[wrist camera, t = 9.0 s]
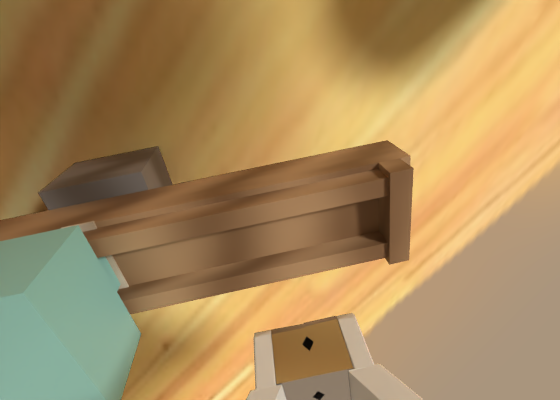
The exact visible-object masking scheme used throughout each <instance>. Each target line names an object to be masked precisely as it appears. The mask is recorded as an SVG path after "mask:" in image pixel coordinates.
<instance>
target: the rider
mask: <svg viewBox="0 0 560 400" xmlns="http://www.w3.org/2000/svg"><path fill="white" fill-rule="evenodd" d="M119 287H120V282H119V280H118V278H117V276H116V275H115V273H114V271H113V269H112V267H111V266H110V264H109V262H108V260H107V259H106V257H100V258H97V256H96V255H95V253H94V251H93V249H92V248H91V246H90V244H89V243H88V241H87V239H86V237H85V236H84V234H83V232H82V230H81V229H80V227H79V225H76V226H71V227H66V228H62V229H57V230H52V231H47V232H42V233H38V234H33V235H28V236H23V237H18V238H14V239H9V240H4V241H0V400H121V398H122V395H123V391H124V388H125V385H126V382H127V378H128V375H129V372H130V369H131V365H132V362H133V359H134V356H135V352H136V349H137V346H138V343H139V339H140V336H141V333H140V331H139V329H138V327H137V326H136V324H135V322H134V321H133V319H132V317H131V315H130V314H129V312H128V310H127V308H126V307H125V305H124V303H123V301H122V300H121V298H120V296H119V295H118V293H117V291H118V289H119Z"/></svg>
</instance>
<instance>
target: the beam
mask: <svg viewBox="0 0 560 400" xmlns="http://www.w3.org/2000/svg"><path fill="white" fill-rule="evenodd" d="M412 186H413V168H412V167H411V166H410V155H408V154H407V153H405V152H404V151H402V150H401V149H399V148H398V147H396V146H395V145H393V144H392V143H391V142H389V141H388V140H387V141H382V142H377V143H372V144H367V145H363V146H358V147H353V148H348V149H343V150H338V151H334V152H329V153H324V154H319V155H314V156H309V157H304V158H300V159H295V160H290V161H285V162H280V163H275V164H271V165H266V166H261V167H256V168H251V169H246V170H242V171H237V172H232V173H227V174H222V175H217V176H212V177H208V178H203V179H198V180H193V181H188V182H183V183H179V184H174V185H172V182H171V179H170V177H169V174H168V171H167V168H166V166H165V163H164V160H163V158H162V155H161V152H160V150H159V147H158V146H157V147H152V148H147V149H142V150H137V151H132V152H127V153H122V154H117V155H112V156H107V157H102V158H97V159H92V160H87V161H82V162H77V163H74V164H73V165H72V166H71V167H69V168H68V169H67V170H66V171H64V172H63V173H62V174H61V175H59V176H58V177H57V178H56V179H54V180H53V181H52V182H51V183H49V184H48V185H47V186H46V187H45V188H43V189H42V190H41V191H40V192H38V194H39V195H40V197H41V198H42V200H43V202H44V203H45V205H46V207H47V208H48V211H43V212H38V213H33V214H28V215H24V216H19V217H14V218H9V219H4V220H0V241H4V240H9V239H14V238H18V237H23V236H28V235H33V234H38V233H42V232H47V231H52V230H57V229H62V228H66V227H71V226H76V225H79V227H80V229H81V230H82V232H83V234H84V236H85V237H86V239H87V241H88V243H89V244H90V246H91V248H92V249H93V251H94V253H95V255H96V256H97V258H100V257H106V259H107V260H108V262H109V264H110V266H111V267H112V269H113V271H114V273H115V275H116V276H117V278H118V280H119V282H120V287H119V289H118V291H117V293H118V295H119V296H120V298H121V300H122V301H123V303H124V305H125V307H126V308H127V310H128V312H129V314H134V313H138V312H143V311H147V310H152V309H156V308H161V307H165V306H170V305H174V304H179V303H184V302H188V301H193V300H197V299H202V298H206V297H211V296H215V295H220V294H224V293H229V292H233V291H238V290H242V289H247V288H251V287H256V286H260V285H265V284H269V283H274V282H278V281H283V280H287V279H292V278H296V277H301V276H305V275H310V274H314V273H319V272H323V271H328V270H332V269H337V268H341V267H346V266H350V265H355V264H359V263H364V262H368V261H373V260H378V259H382V258H385V259H386V260H387V261H388V263H389V264H394V263H398V262H403V261H407V260H409V249H410V228H411V207H412Z"/></svg>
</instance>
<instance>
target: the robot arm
mask: <svg viewBox="0 0 560 400" xmlns="http://www.w3.org/2000/svg"><path fill="white" fill-rule="evenodd" d="M254 360H255V386H256V390H252V391H250V393H249V395H248V397H247V399H246V400H423V399H422V398H421V397H420V396H419V395H417V394H416V393H415V392H414V391H412V390H411V389H410V388H409V387H407V386H406V385H405V384H404V383H403V382H401V381H400V380H399V379H398V378H396V377H395V376H394V375H393V374H392V373H390V372H389V371H388V370H387V369H385V368H384V367H383V366H382V365H380V364H374V362H373V360H372V357H371V355H370V353H369V350H368V348H367V345H366V342H365V340H364V337H363V335H362V332H361V330H360V327H359V325H358V322H357V320H356V317H355V315H354V314H353V313H349V314H344V315H340V316H333V317H329V318H324V319H320V320H315V321H311V322H306V323H304V324H300V325H295V326H289V327H284V328H278V329H273V330H267V331H262V332H257V333H255V334H254Z"/></svg>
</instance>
